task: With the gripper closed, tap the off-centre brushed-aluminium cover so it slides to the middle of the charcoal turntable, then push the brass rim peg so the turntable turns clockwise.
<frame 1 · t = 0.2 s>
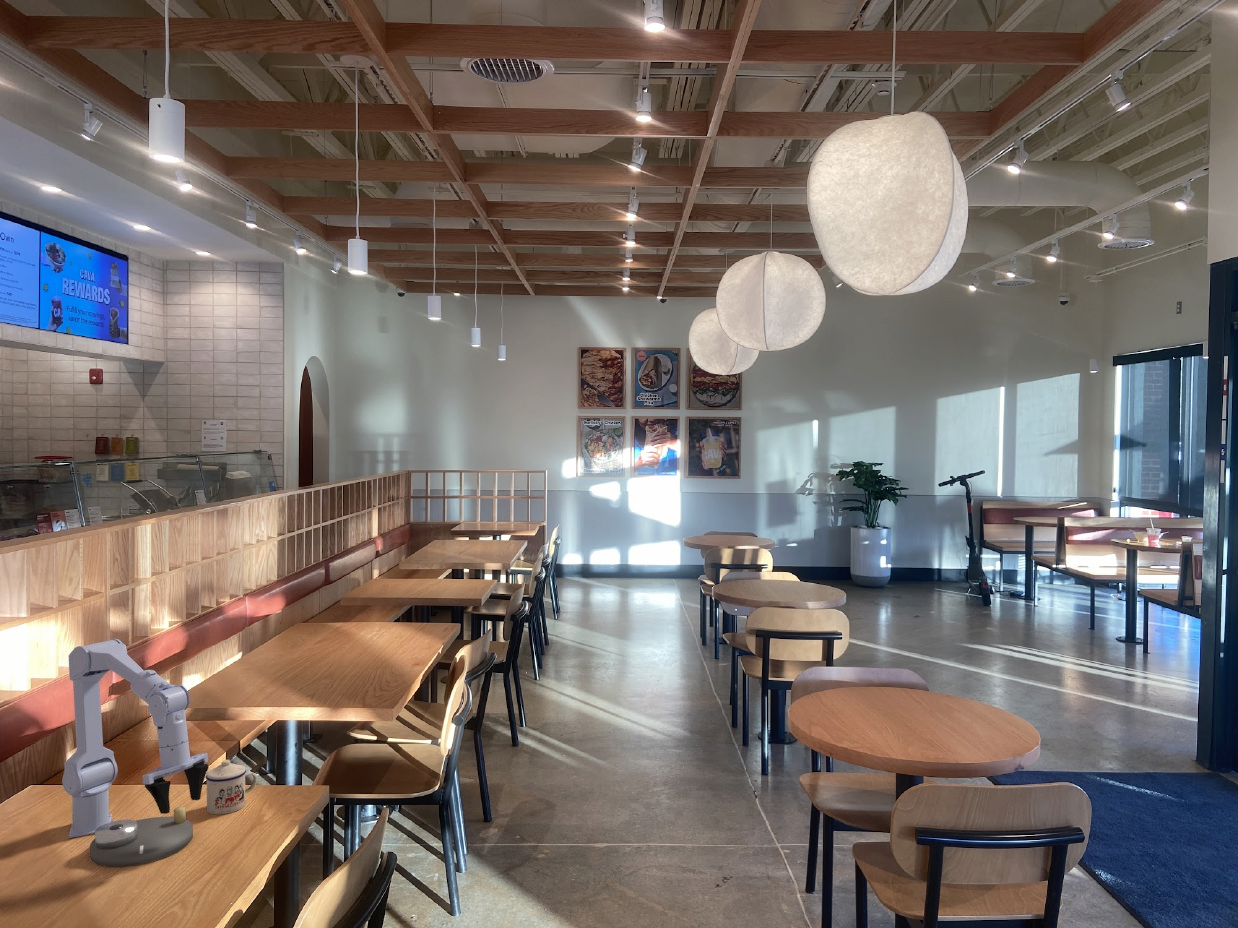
hand: (180, 806, 182), 11 cm above the table, tool pointing down, fingers open, 7 cm apart
teacup with lid: (232, 806, 207), on the table
turntable: (142, 833, 186), point 3 cm above the table, hinge at 0.0°, touching cover
cover: (116, 840, 184), point 2 cm above the table, touching turntable
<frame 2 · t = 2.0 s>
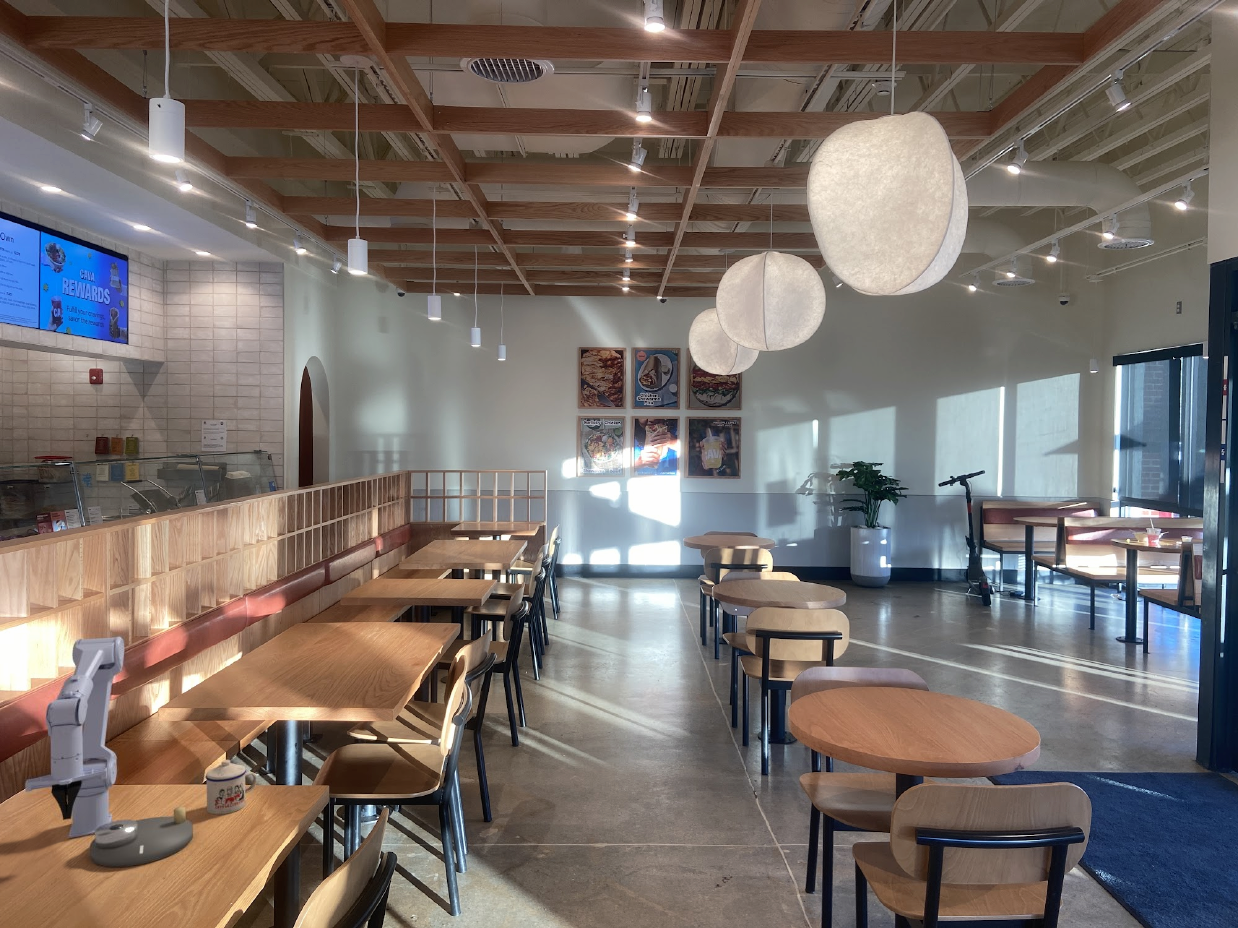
hand: (67, 817, 179), 9 cm above the table, tool pointing down, fingers closed
nothing on the table moved.
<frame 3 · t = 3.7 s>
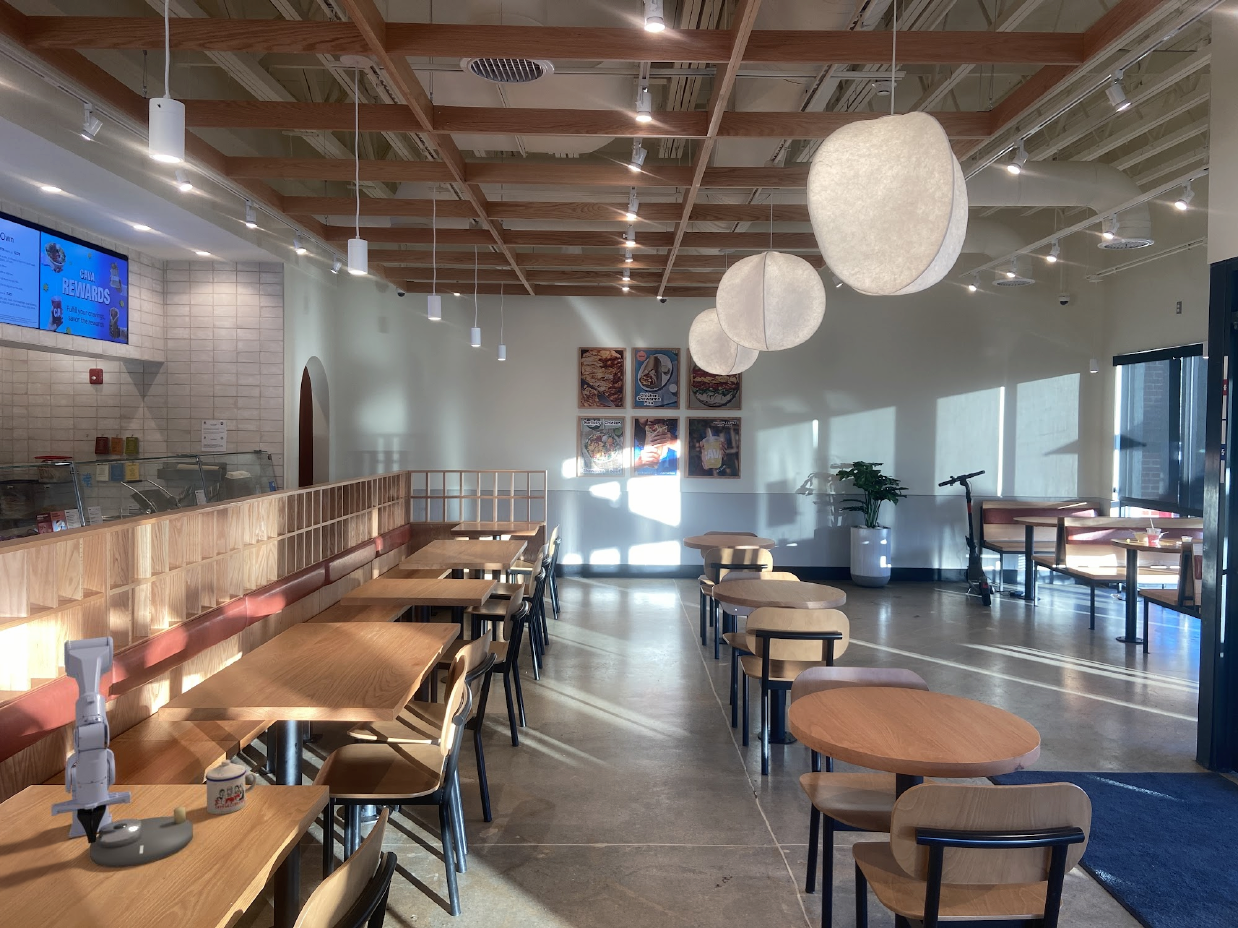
hand: (92, 840, 181), 3 cm above the table, tool pointing down, fingers closed
turntable: (142, 833, 186), point 3 cm above the table, hinge at 0.0°
cover: (120, 839, 184), point 2 cm above the table, touching gripper
everything else where it was.
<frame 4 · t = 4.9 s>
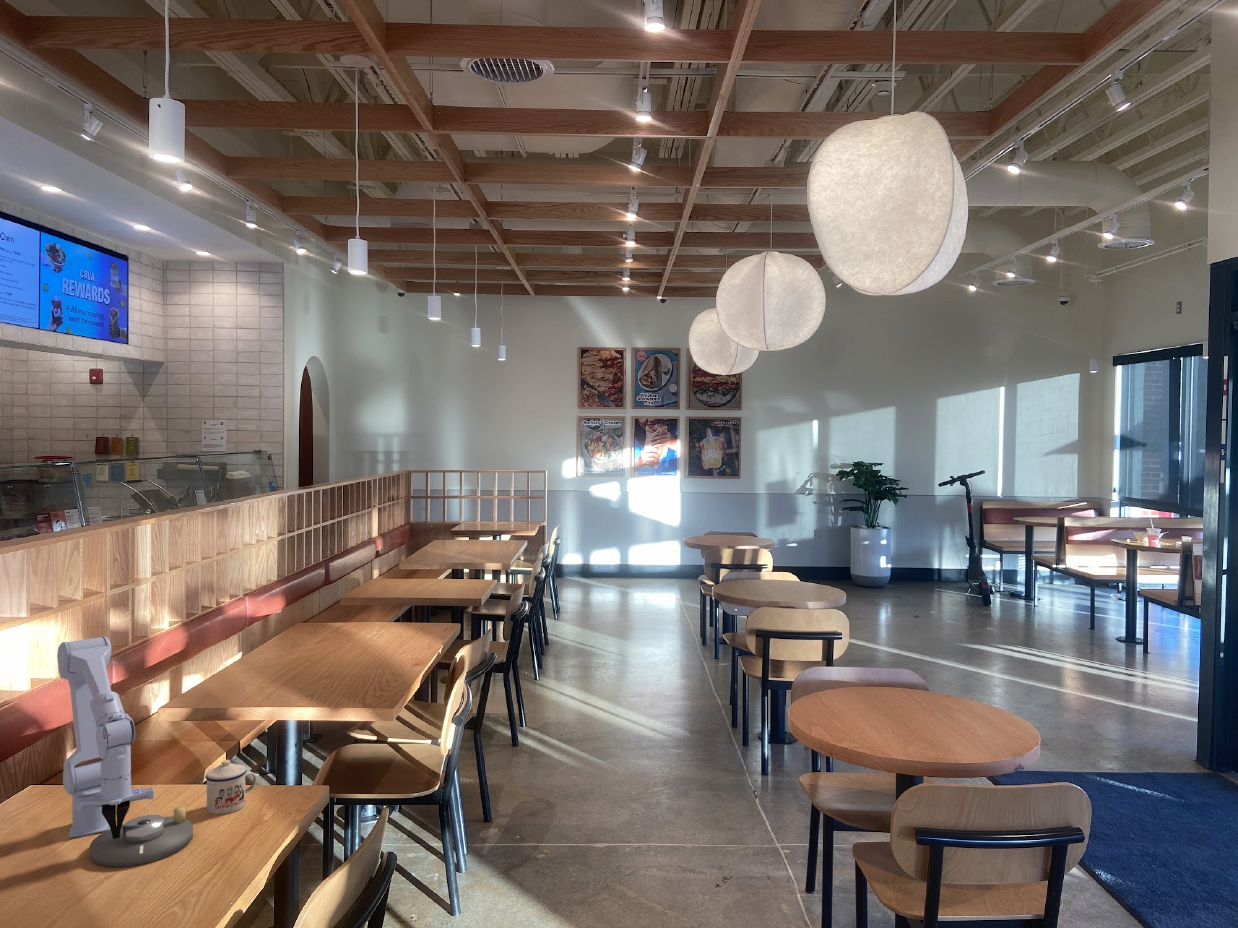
hand: (116, 836, 184), 3 cm above the table, tool pointing down, fingers closed
turntable: (142, 833, 186), point 3 cm above the table, hinge at 0.0°, touching cover
cover: (143, 835, 186), point 2 cm above the table, touching gripper, turntable
everything else where it was.
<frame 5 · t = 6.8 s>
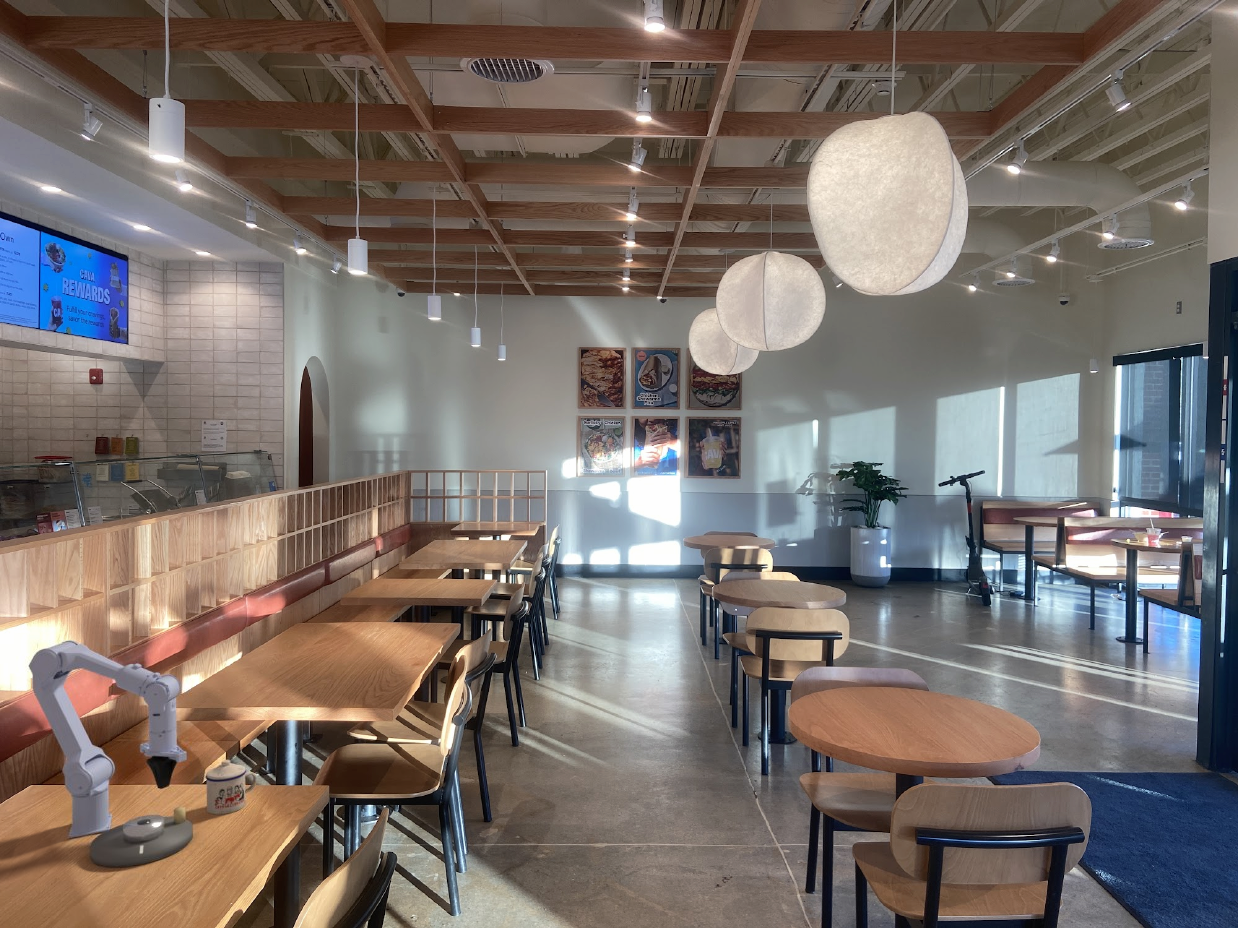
hand: (163, 786, 195), 9 cm above the table, tool pointing down, fingers closed
cover: (144, 835, 186), point 2 cm above the table, touching turntable
everything else where it was.
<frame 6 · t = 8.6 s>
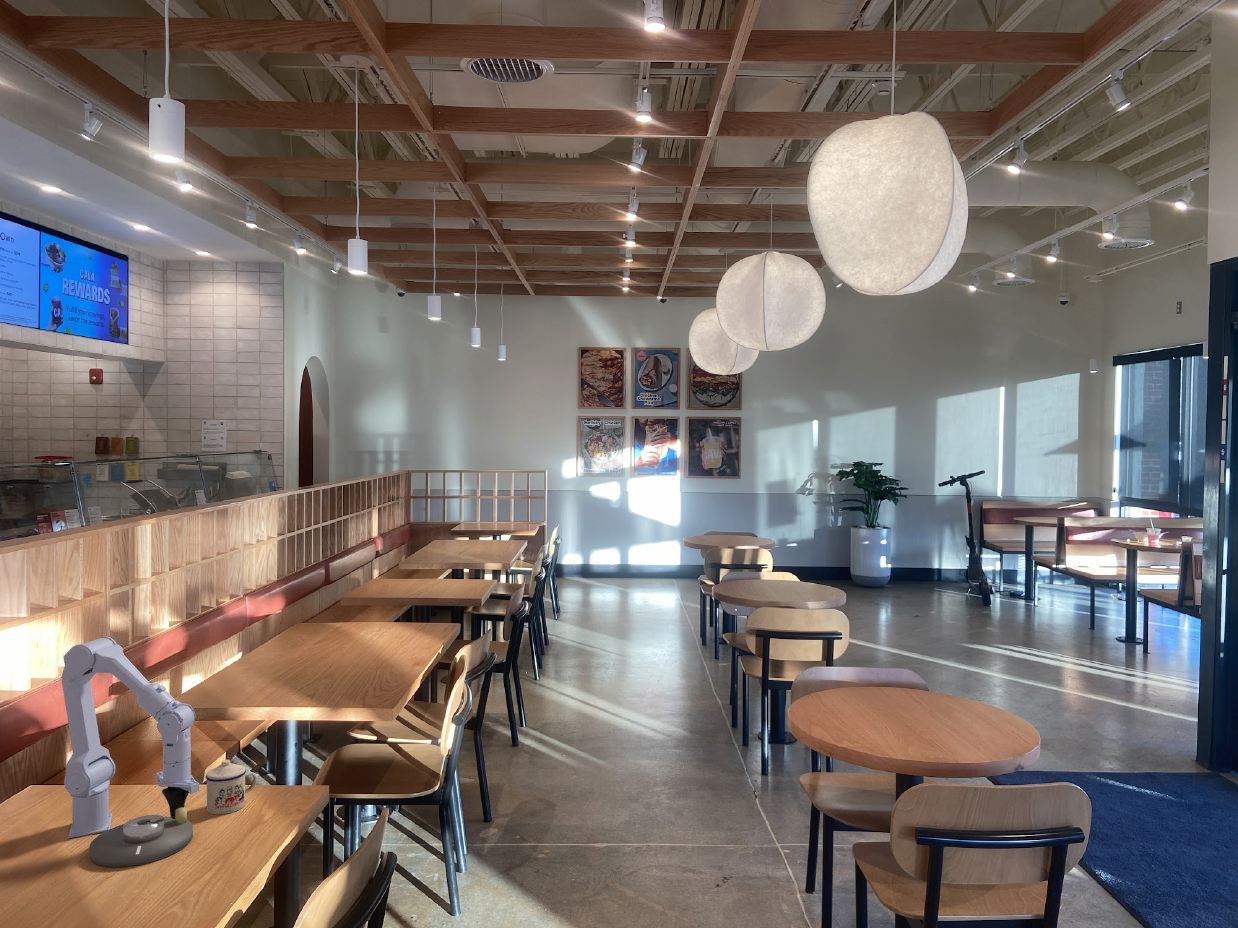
hand: (177, 817, 194), 3 cm above the table, tool pointing down, fingers closed, pressing on turntable
turntable: (142, 833, 186), point 3 cm above the table, hinge at -4.3°, touching cover, gripper
everything else where it was.
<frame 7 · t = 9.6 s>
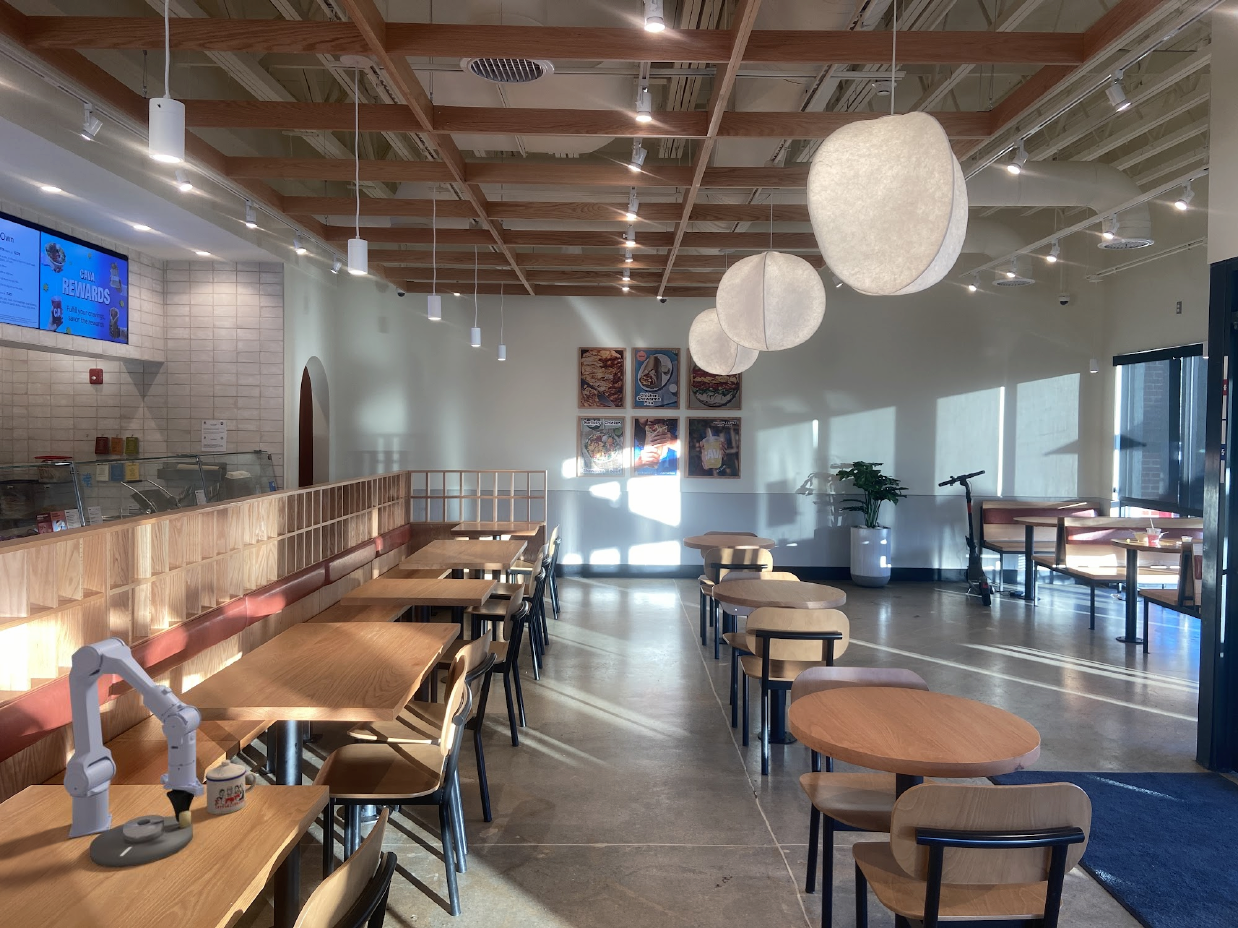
hand: (182, 820, 192), 3 cm above the table, tool pointing down, fingers closed
turntable: (142, 833, 186), point 3 cm above the table, hinge at -23.2°, touching cover, gripper
everything else where it was.
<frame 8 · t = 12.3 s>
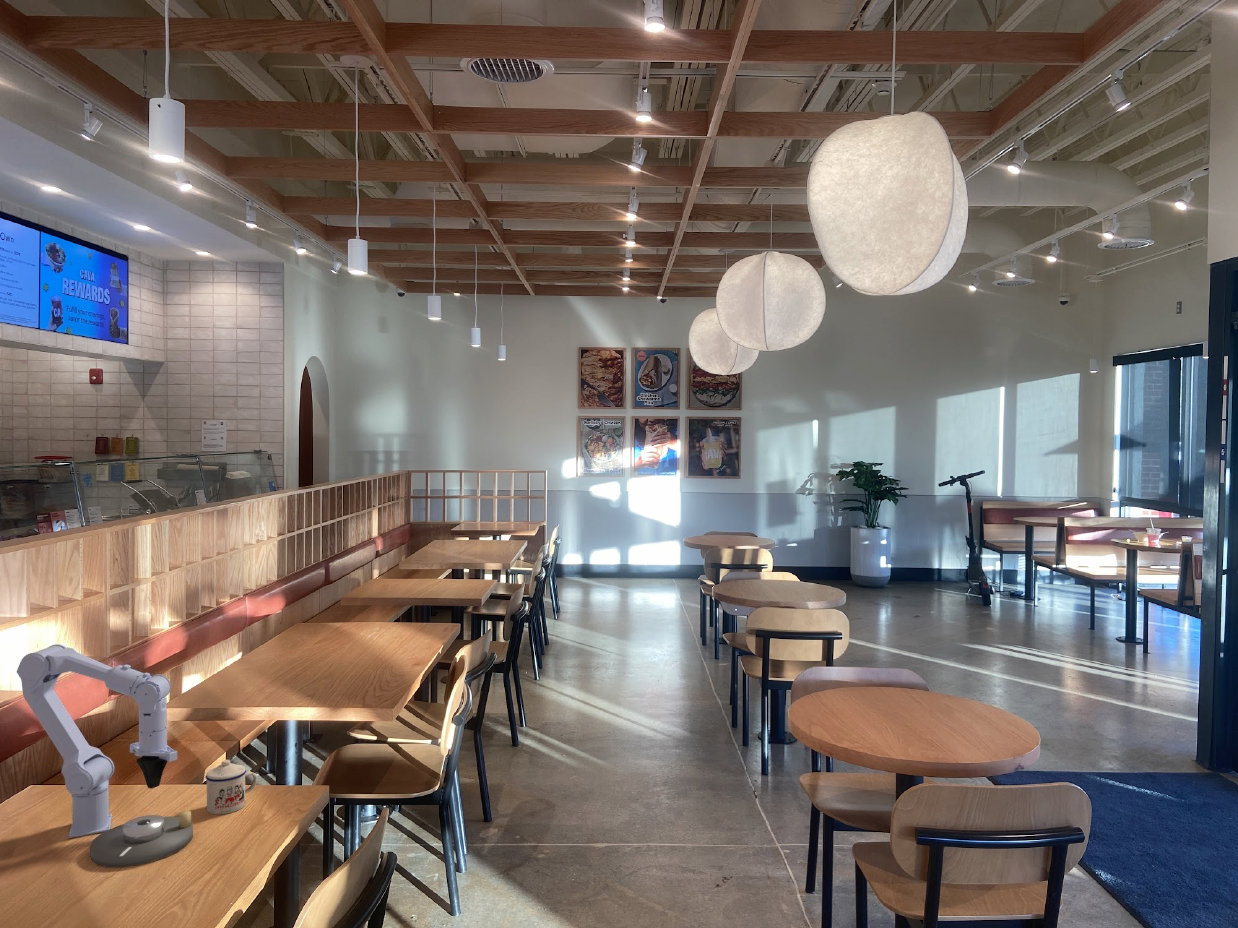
hand: (153, 786, 196), 9 cm above the table, tool pointing down, fingers closed
turntable: (142, 833, 186), point 3 cm above the table, hinge at -23.4°, touching cover
everything else where it was.
at the end: cover 0.3 cm from the turntable (horizontally); turntable at -23° (first picture: +0°); cover tilted 0° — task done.
